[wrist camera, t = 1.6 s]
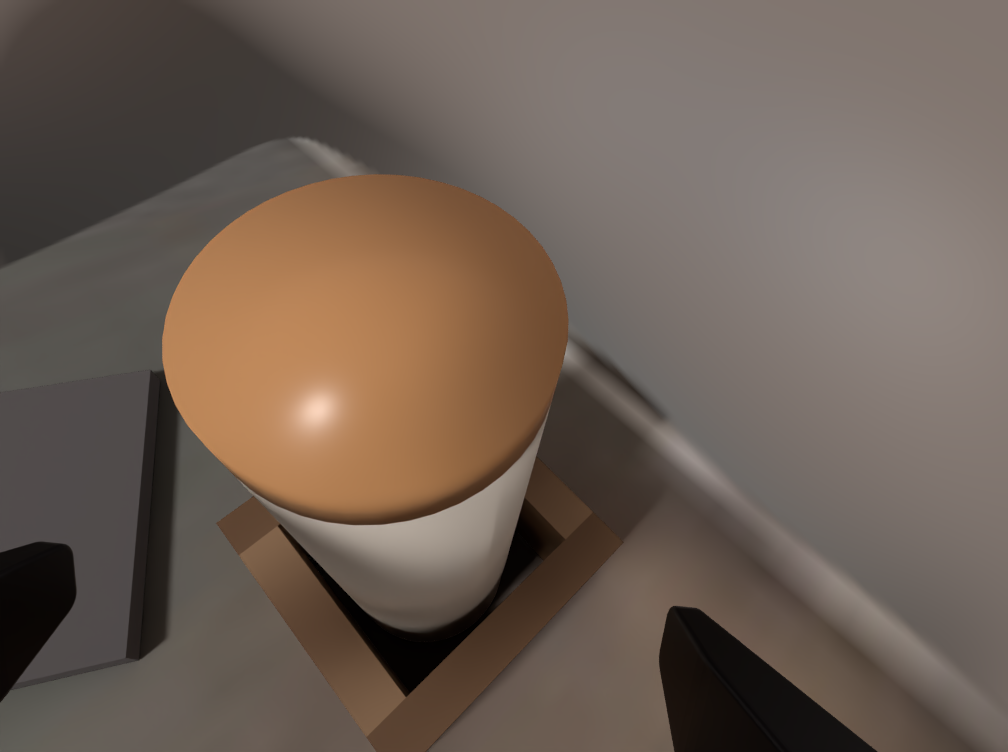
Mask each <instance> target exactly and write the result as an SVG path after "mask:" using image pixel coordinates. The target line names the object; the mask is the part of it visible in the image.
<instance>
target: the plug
mask: <svg viewBox="0 0 1008 752" xmlns="http://www.w3.org/2000/svg"><path fill="white" fill-rule="evenodd" d="M567 341H568V312H567V304H566V298H565V294H564V291H563V287H562V283H561V280H560V278H559V276H558V274H557V271H556V269H555V267H554V265H553V263H552V262H551V260H550V258H549V256H548V255H547V253H546V252H545V250H544V249H543V247H542V246H541V245H540V243H539V242H538V241H537V240H536V239H535V238H534V237H533V235H532V234H531V233H530V232H529V231H528V230H527V229H526V228H525V227H524V226H523V225H522V224H521V223H519V222H518V221H517V220H516V219H515V218H514V217H512V216H511V215H510V214H508V213H507V212H505V211H504V210H502V209H501V208H500V207H498V206H497V205H495V204H493V203H491V202H489V201H488V200H486V199H484V198H482V197H480V196H478V195H476V194H473V193H471V192H468V191H466V190H464V189H461V188H458V187H455V186H452V185H448V184H446V183H442V182H438V181H434V180H429V179H424V178H419V177H410V176H402V175H377V174H375V175H359V176H349V177H342V178H336V179H330V180H326V181H321V182H317V183H313V184H309V185H306V186H303V187H300V188H297V189H294V190H291V191H288V192H286V193H283V194H281V195H279V196H277V197H274V198H272V199H270V200H268V201H266V202H264V203H262V204H260V205H259V206H257V207H255V208H253V209H251V210H250V211H248V212H246V213H245V214H243V215H242V216H241V217H239V218H238V219H236V220H235V221H233V222H232V223H231V224H229V225H228V226H227V227H226V228H224V229H223V230H222V231H221V232H220V233H219V234H218V235H217V236H215V237H214V238H213V239H212V240H211V241H210V242H209V243H208V244H207V245H206V246H205V248H204V249H203V250H202V251H201V252H200V253H199V254H198V255H197V256H196V258H195V259H194V261H193V262H192V263H191V265H190V266H189V268H188V269H187V271H186V272H185V274H184V275H183V277H182V279H181V281H180V283H179V285H178V287H177V289H176V291H175V293H174V295H173V297H172V300H171V303H170V306H169V309H168V312H167V315H166V320H165V326H164V332H163V338H162V342H163V365H164V370H165V376H166V381H167V385H168V387H169V390H170V392H171V395H172V398H173V400H174V403H175V405H176V407H177V409H178V410H179V412H180V414H181V415H182V417H183V418H184V420H185V422H186V423H187V425H188V426H189V428H190V429H191V430H192V431H193V432H194V433H195V434H196V436H197V437H198V438H199V439H200V440H201V441H202V442H203V444H204V445H205V446H206V447H207V448H208V449H209V450H210V451H211V452H212V453H213V454H214V455H215V456H216V457H217V458H218V459H219V460H220V461H221V462H222V463H223V465H224V466H225V467H226V468H227V469H228V470H229V471H230V472H231V473H232V474H233V475H234V476H235V477H236V478H237V479H238V480H239V481H240V482H241V483H242V484H243V485H244V486H245V487H246V488H247V490H248V491H249V492H250V493H251V494H252V495H253V496H254V497H255V498H256V499H257V500H258V501H259V502H260V503H261V504H262V505H263V506H264V507H265V508H266V509H267V510H268V511H269V512H270V514H271V515H272V516H273V517H274V518H275V519H276V520H277V521H278V522H279V523H280V524H281V525H282V526H283V527H284V528H285V529H286V530H287V531H288V532H289V533H290V534H291V535H292V536H293V537H294V539H295V540H296V541H297V542H298V543H299V544H300V545H301V546H302V547H303V548H304V549H305V550H306V551H307V552H308V553H309V554H310V555H311V556H312V557H313V558H314V559H315V560H316V561H317V563H318V564H319V565H320V566H321V567H322V568H323V569H324V570H325V571H326V572H327V573H328V574H329V575H330V576H331V577H332V578H333V579H334V580H335V581H336V582H337V583H338V584H339V585H340V586H341V588H342V589H343V590H344V591H345V592H346V593H347V594H348V595H349V596H350V597H351V598H352V599H353V600H354V601H355V602H356V603H357V604H358V605H359V606H360V607H361V608H362V609H363V610H364V612H365V613H366V614H367V615H368V616H369V617H370V618H371V619H372V620H373V621H374V622H375V623H376V624H377V625H379V626H380V627H381V628H382V629H383V630H385V631H387V632H388V633H390V634H392V635H394V636H396V637H399V638H401V639H405V640H409V641H414V642H434V641H440V640H444V639H447V638H450V637H453V636H455V635H457V634H459V633H461V632H463V631H464V630H466V629H467V628H469V627H470V626H472V625H473V624H474V623H475V622H476V621H477V620H478V619H479V618H480V617H481V616H482V615H483V614H484V613H485V612H486V610H487V609H488V607H489V606H490V604H491V603H492V601H493V599H494V597H495V595H496V592H497V590H498V587H499V584H500V581H501V577H502V574H503V570H504V567H505V563H506V560H507V556H508V553H509V549H510V546H511V542H512V539H513V535H514V532H515V528H516V525H517V521H518V518H519V514H520V511H521V507H522V504H523V500H524V497H525V493H526V490H527V486H528V483H529V479H530V476H531V472H532V469H533V465H534V462H535V458H536V455H537V451H538V448H539V444H540V441H541V437H542V434H543V430H544V427H545V423H546V420H547V417H548V413H549V410H550V406H551V403H552V399H553V396H554V392H555V389H556V385H557V382H558V378H559V375H560V371H561V368H562V364H563V360H564V355H565V351H566V346H567Z"/></svg>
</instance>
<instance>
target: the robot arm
mask: <svg viewBox="0 0 1008 752" xmlns="http://www.w3.org/2000/svg"><path fill="white" fill-rule="evenodd" d="M76 595H77V587H76V577H75V566H74V556H73V551H72V549H71V548H70V546H68V545H67V544H63V543H53V542H44V541H40V542H34V543H30V544H27V545H24V546H20V547H17V548H14V549H10V550H7V551H4V552H0V702H1V701H2V700H3V699H4V697H5V696H6V695H7V694H8V692H9V691H10V690H11V688H12V687H13V686H14V685H15V683H16V682H17V681H18V679H19V678H20V677H21V675H22V674H23V673H24V671H25V670H26V669H27V667H28V666H29V665H30V663H31V662H32V661H33V659H34V658H35V657H36V655H37V654H38V653H39V651H40V650H41V649H42V647H43V646H44V645H45V643H46V642H47V641H48V640H49V638H50V637H51V636H52V634H53V633H54V632H55V630H56V629H57V628H58V626H59V625H60V624H61V622H62V621H63V620H64V618H65V617H66V616H67V614H68V613H69V612H70V610H71V609H72V607H73V605H74V602H75V599H76ZM659 666H660V673H661V679H662V684H663V690H664V696H665V701H666V707H667V713H668V718H669V724H670V729H671V735H672V741H673V746H674V752H877V751H876V750H875V749H873V748H872V747H871V746H870V745H868V744H867V743H866V742H865V741H863V740H862V739H861V738H860V737H858V736H857V735H856V734H855V733H853V732H852V731H851V730H850V729H848V728H847V727H846V726H845V725H843V724H842V723H841V722H840V721H838V720H837V719H836V718H835V717H833V716H832V715H831V714H830V713H828V712H827V711H826V710H825V709H823V708H822V707H821V706H820V705H818V704H817V703H816V702H815V701H813V700H812V699H811V698H810V697H808V696H807V695H806V694H805V693H803V692H802V691H801V690H800V689H798V688H797V687H796V686H795V685H793V684H792V683H791V682H790V681H788V680H787V679H786V678H785V677H783V676H782V675H781V674H780V673H778V672H777V671H776V670H775V669H773V668H772V667H771V666H770V665H769V664H767V663H766V662H765V661H764V660H762V659H761V658H760V657H759V656H757V655H756V654H755V653H754V652H752V651H751V650H750V649H749V648H747V647H746V646H745V645H744V644H742V643H741V642H740V641H739V640H737V639H736V638H735V637H734V636H732V635H731V634H730V633H729V632H727V631H726V630H725V629H724V628H722V627H721V626H720V625H719V624H717V623H716V622H715V621H714V620H712V619H711V618H710V617H709V616H707V615H706V614H705V613H704V612H702V611H701V610H700V609H697V608H692V607H681V606H673V607H671V608H670V609H669V611H668V614H667V618H666V623H665V628H664V633H663V638H662V643H661V647H660V654H659Z"/></svg>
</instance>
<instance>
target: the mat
mask: <svg viewBox="0 0 1008 752" xmlns="http://www.w3.org/2000/svg"><path fill="white" fill-rule="evenodd" d="M159 389H160V380H159V379H158V377H157V376H156V375H155V374H154V373H153V372H152V371H151V370H145V371H138V372H131V373H125V374H118V375H112V376H105V377H99V378H92V379H85V380H79V381H72V382H66V383H59V384H53V385H46V386H39V387H33V388H26V389H20V390H13V391H7V392H0V552H4V551H7V550H10V549H14V548H17V547H20V546H24V545H27V544H30V543H34V542H40V541H44V542H53V543H63V544H67V545H68V546H70V548H71V549H72V551H73V556H74V566H75V577H76V587H77V595H76V599H75V602H74V605H73V607H72V609H71V610H70V612H69V613H68V614H67V616H66V617H65V618H64V620H63V621H62V622H61V624H60V625H59V626H58V628H57V629H56V630H55V632H54V633H53V634H52V636H51V637H50V638H49V640H48V641H47V642H46V643H45V645H44V646H43V647H42V649H41V650H40V651H39V653H38V654H37V655H36V657H35V658H34V659H33V661H32V662H31V663H30V665H29V666H28V667H27V669H26V670H25V671H24V673H23V674H22V675H21V677H20V678H19V679H18V681H17V682H16V683H15V685H14V686H13V687H12V688H11V690H13V689H17V688H22V687H26V686H30V685H35V684H39V683H43V682H47V681H52V680H56V679H60V678H65V677H69V676H73V675H77V674H82V673H86V672H90V671H95V670H99V669H103V668H108V667H112V666H116V665H120V664H125V663H129V662H133V661H138V660H139V654H140V641H141V628H142V614H143V601H144V588H145V575H146V561H147V548H148V535H149V521H150V508H151V495H152V482H153V468H154V455H155V442H156V429H157V415H158V402H159Z"/></svg>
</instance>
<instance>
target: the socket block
mask: <svg viewBox="0 0 1008 752" xmlns="http://www.w3.org/2000/svg"><path fill="white" fill-rule="evenodd" d="M217 525H218V526H219V528H220V529H221V531H222V532H223V533H224V535H225V536H226V538H227V539H228V541H229V542H230V543H231V545H232V546H233V548H234V549H235V551H236V552H237V553H238V555H239V556H240V558H241V559H242V561H243V562H244V563H245V565H246V566H247V568H248V569H249V570H250V572H251V573H252V575H253V576H254V578H255V579H256V580H257V582H258V583H259V585H260V586H261V588H262V589H263V590H264V592H265V593H266V595H267V596H268V598H269V599H270V600H271V602H272V603H273V605H274V606H275V608H276V609H277V610H278V612H279V613H280V615H281V616H282V618H283V619H284V620H285V622H286V623H287V625H288V626H289V627H290V629H291V630H292V632H293V633H294V635H295V636H296V637H297V639H298V640H299V642H300V643H301V645H302V646H303V647H304V649H305V650H306V652H307V653H308V655H309V656H310V657H311V659H312V660H313V662H314V663H315V665H316V666H317V667H318V669H319V670H320V672H321V673H322V675H323V676H324V677H325V679H326V680H327V682H328V683H329V684H330V686H331V687H332V689H333V690H334V692H335V693H336V694H337V696H338V697H339V699H340V700H341V702H342V703H343V704H344V706H345V707H346V709H347V710H348V712H349V713H350V714H351V716H352V717H353V719H354V720H355V722H356V723H357V724H358V726H359V727H360V729H361V730H362V732H363V733H364V734H365V736H366V737H367V739H368V740H369V741H370V743H371V744H372V746H373V747H374V749H375V750H376V751H377V752H426V751H427V750H428V748H429V747H430V746H431V745H432V744H433V743H434V742H435V741H436V740H437V739H438V738H439V737H440V736H441V735H442V734H443V733H444V732H445V731H446V729H447V728H448V727H449V726H450V725H451V724H452V723H453V722H454V721H455V720H456V719H457V718H458V717H459V716H460V715H461V714H462V713H463V712H464V710H465V709H466V708H467V707H468V706H469V705H470V704H471V703H472V702H473V701H474V700H475V699H476V698H477V697H478V696H479V695H480V694H481V692H482V691H483V690H484V689H485V688H486V687H487V686H488V685H489V684H490V683H491V682H492V681H493V680H494V679H495V678H496V677H497V676H498V675H499V673H500V672H501V671H502V670H503V669H504V668H505V667H506V666H507V665H508V664H509V663H510V662H511V661H512V660H513V659H514V658H515V657H516V655H517V654H518V653H519V652H520V651H521V650H522V649H523V648H524V647H525V646H526V645H527V644H528V643H529V642H530V641H531V640H532V639H533V638H534V636H535V635H536V634H537V633H538V632H539V631H540V630H541V629H542V628H543V627H544V626H545V625H546V624H547V623H548V622H549V621H550V620H551V619H552V617H553V616H554V615H555V614H556V613H557V612H558V611H559V610H560V609H561V608H562V607H563V606H564V605H565V604H566V603H567V602H568V601H569V599H570V598H571V597H572V596H573V595H574V594H575V593H576V592H577V591H578V590H579V589H580V588H581V587H582V586H583V585H584V584H585V583H586V582H587V580H588V579H589V578H590V577H591V576H592V575H593V574H594V573H595V572H596V571H597V570H598V569H599V568H600V567H601V566H602V565H603V564H604V562H605V561H606V560H607V559H608V558H609V557H610V556H611V555H612V554H613V553H614V552H615V551H616V550H617V549H618V548H619V547H620V546H621V544H622V543H623V541H622V540H621V539H620V538H619V537H618V536H617V535H616V534H615V533H614V532H613V531H612V530H611V529H610V528H609V527H608V526H607V525H606V524H605V523H604V522H603V521H602V520H601V519H600V518H599V517H598V516H597V515H596V514H595V513H594V512H593V511H592V510H591V509H589V508H588V507H587V506H586V505H585V504H584V503H583V502H582V501H581V500H580V499H579V498H578V497H577V496H576V495H575V494H574V493H573V492H572V491H571V490H570V489H569V488H568V487H567V486H566V485H565V484H564V483H563V482H562V481H561V480H560V479H559V478H558V477H557V476H556V475H555V474H554V473H553V472H552V471H551V470H550V469H549V468H548V467H547V466H546V465H545V464H544V463H543V462H542V461H541V460H540V459H539V458H538V457H537V456H536V458H535V462H534V465H533V469H532V472H531V476H530V479H529V483H528V486H527V490H526V493H525V497H524V500H523V504H522V507H521V511H520V514H519V518H518V521H517V525H516V528H515V530H516V531H517V532H518V534H519V535H520V536H521V537H522V538H523V539H524V540H525V541H526V542H527V543H528V544H529V545H530V546H531V547H532V548H533V550H534V551H535V552H536V553H537V554H538V555H539V556H540V557H541V558H542V559H543V560H544V561H543V562H542V563H541V564H540V565H539V566H538V567H537V568H536V569H535V570H534V571H533V572H532V573H531V574H530V575H529V576H528V577H527V578H526V579H525V580H524V581H523V582H522V583H521V584H520V585H519V586H518V587H517V588H516V589H515V590H514V591H513V592H512V593H511V594H510V595H509V596H508V597H507V598H506V599H505V600H504V601H503V602H502V603H501V604H500V605H499V606H498V607H497V608H496V609H495V610H494V611H493V612H492V613H491V614H490V615H489V616H488V617H487V618H486V619H485V620H484V621H483V622H482V623H481V624H480V625H479V626H478V627H477V628H476V629H475V630H474V631H473V632H472V633H471V634H470V635H469V636H468V637H467V638H466V639H465V640H464V641H463V642H462V643H461V644H460V645H459V646H458V647H457V648H456V649H455V650H454V651H453V652H452V653H451V654H450V655H449V656H448V657H447V658H446V659H444V660H443V661H442V662H441V663H440V664H439V665H438V666H437V667H436V668H435V669H434V670H433V671H432V672H431V673H430V674H429V675H428V676H427V677H426V678H425V679H424V680H423V681H422V682H421V683H420V684H419V685H418V686H417V687H416V688H415V689H414V690H413V691H412V692H411V693H410V692H409V691H408V690H407V688H406V687H405V686H404V684H403V683H402V682H401V680H400V679H399V678H398V676H397V675H396V674H395V672H394V671H393V670H392V668H391V667H390V666H389V664H388V663H387V662H386V660H385V659H384V658H383V657H382V655H381V654H380V653H379V651H378V650H377V649H376V647H375V646H374V645H373V643H372V642H371V641H370V639H369V638H368V637H367V635H366V634H365V633H364V631H363V630H362V629H361V627H360V626H359V625H358V623H357V622H356V621H355V619H354V618H353V617H352V615H351V614H350V613H349V611H348V610H347V609H346V607H345V606H344V605H343V603H342V602H341V601H340V600H339V598H338V597H337V596H336V594H335V593H334V592H333V590H332V589H331V588H330V586H329V585H328V584H327V582H326V581H325V580H324V578H323V577H322V576H321V574H320V573H319V572H318V570H317V569H316V568H315V566H314V565H313V564H312V562H311V561H310V560H309V558H308V557H307V555H308V554H309V553H308V552H307V551H306V550H305V549H304V548H303V547H302V546H301V545H300V544H299V543H298V542H297V541H296V540H295V539H294V537H293V536H292V535H291V534H290V533H289V532H288V531H287V530H286V529H285V528H284V527H283V526H282V525H281V524H280V523H279V522H278V521H277V520H276V519H275V518H274V517H273V516H272V515H271V514H270V512H269V511H268V510H267V509H266V508H265V507H264V506H263V505H262V504H261V503H260V502H259V501H258V500H257V499H256V498H255V497H254V496H253V497H252V498H250V499H249V500H248V501H246V502H245V503H244V504H242V505H241V506H239V507H238V508H237V509H235V510H234V511H232V512H231V513H230V514H228V515H227V516H226V517H224V518H223V519H221V520H220V521H219V522H217Z"/></svg>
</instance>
